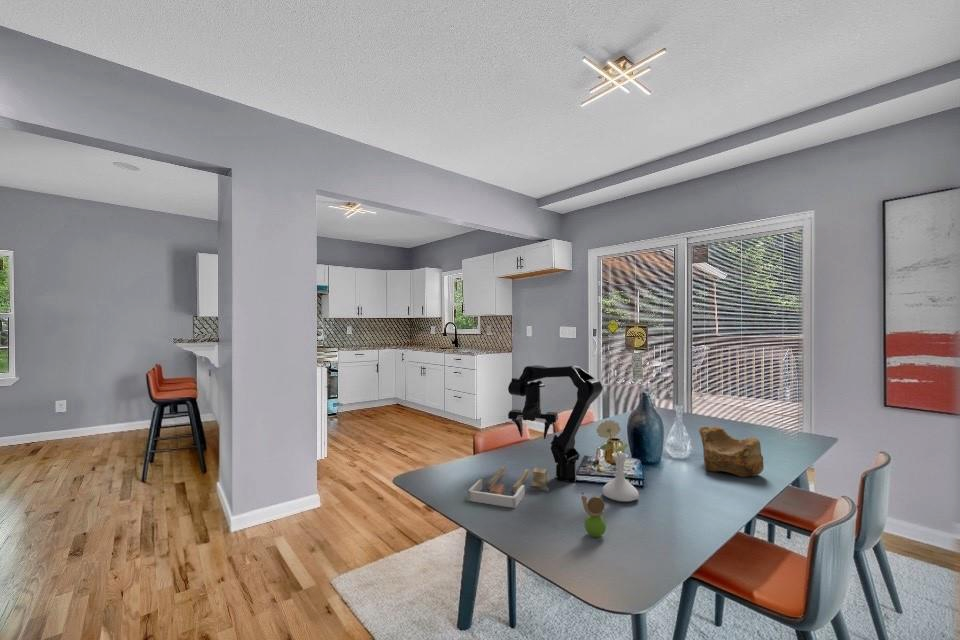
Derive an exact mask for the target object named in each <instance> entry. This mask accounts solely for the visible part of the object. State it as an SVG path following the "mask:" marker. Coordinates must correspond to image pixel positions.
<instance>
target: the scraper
mask: <svg viewBox="0 0 960 640" xmlns="http://www.w3.org/2000/svg"><path fill="white" fill-rule="evenodd" d="M547 471H548V470H547V468H541V467H534V469H533V471H532V485H531V484H530V485H529V484H528V486H527V489H528V490H532V491H537V492H546V493H549V492H550V487H547V485H548V484H547V482H548V481H547V477H548V475H547Z"/></svg>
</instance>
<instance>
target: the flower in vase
mask: <svg viewBox="0 0 960 640" xmlns="http://www.w3.org/2000/svg"><path fill="white" fill-rule="evenodd" d="M595 431H596V433H597V436H598V437H600V438H603V439H610V443H611V444H602V445H601V446H600V447H599V448H598V449H599V450H603V451H610V450H611V449H612V448H613V450H614V452H613V453H611V457H612V458H613V459H614V461H615V467H616V470H615V471H616V474H615V477H614V478H613V479H612V480H610V481H609V482H607V483H606V484H605V485H604V486H603V487H602V489H601V493H602V494H603V495H604V496H605V497H607V498H608V499H610V500H614V501H615V502H616V501H617V502H624V503H625V502H633V501H635V500H637V499H638V498H639V496H640V493H639V491H638V489H637V488H636V487H635V486H634V485H632V484H631V483H630V482H629V481H628V480H627V479H626V478H625V472H624V471H625V463H626V460H627V458H628V457H629V454H628V453H623V451H625V450H626V449H627V447H628V443H625V444H621V445H618V447H617V449H616V448H615V446H614V445H613V437H617V436H618V434H619V433H620V432H621V431H622V430H621V426H620V423H619V422H616V421H615V420H611V419H609V420H604V421H602V422H601V423H600V424H598V425H597V428H596V429H595Z"/></svg>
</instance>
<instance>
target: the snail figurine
mask: <svg viewBox="0 0 960 640" xmlns="http://www.w3.org/2000/svg"><path fill="white" fill-rule="evenodd" d="M580 492H581V500H582V505H583V509H584V511H585V513H586V514H587V515H588V516H587V517H586V519H585V521H584V528H585V531H586V532H587V534H588V535H589V536H591V537H593V538H594V537H595V538H599V537H601V536H603V535H604V534H605V533H606V530H607V526H606V525H607V524H606V522H605V520H604V519H603V517H602V515H603V514H605V511H604V509H605V501H604V499H603V498H602V497H600V496H592V497H591V498H589V500H587V498H588V497H587V496H586V495H584V491H583V490H581V491H580Z"/></svg>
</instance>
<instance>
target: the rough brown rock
mask: <svg viewBox="0 0 960 640" xmlns="http://www.w3.org/2000/svg"><path fill="white" fill-rule="evenodd" d="M698 433H699V435H700V437H701V443H702V449H703V451H702V452H703V455H702V456H703V462H704V465H705V466H704V469H705V470H706V471H708V472H726V473H730V474H733V475H734V476H738V477H742V478H749V477H754V476H755V477H756V476H757V475H760V474H761V473H762V472H763V471H764V468H765V467H764V456H763V455H762V449H761V448H762V447H761V442H760V440H759V439H757V438H753V437H747V438H745V439H739V438H735V437H732V436H731V435H729V434H728V433H727V432H726V431H725V429H724V428H722V427H719V426H711V427H709V426H701V427H699V430H698Z"/></svg>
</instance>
